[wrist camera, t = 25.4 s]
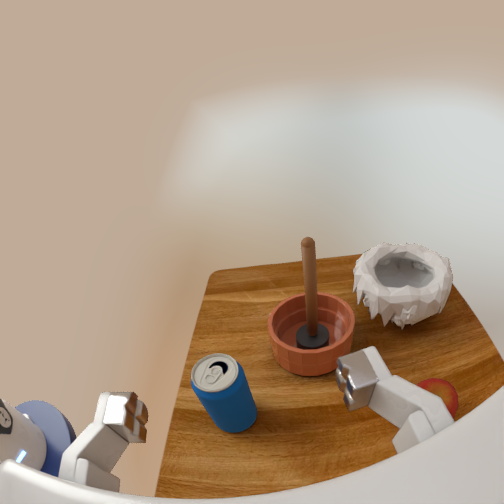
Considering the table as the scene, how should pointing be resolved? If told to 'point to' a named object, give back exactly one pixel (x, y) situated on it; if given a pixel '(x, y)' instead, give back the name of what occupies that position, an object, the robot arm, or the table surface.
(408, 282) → the bowl
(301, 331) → the plunger
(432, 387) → the apple
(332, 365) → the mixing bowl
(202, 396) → the beverage can
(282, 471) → the table surface
